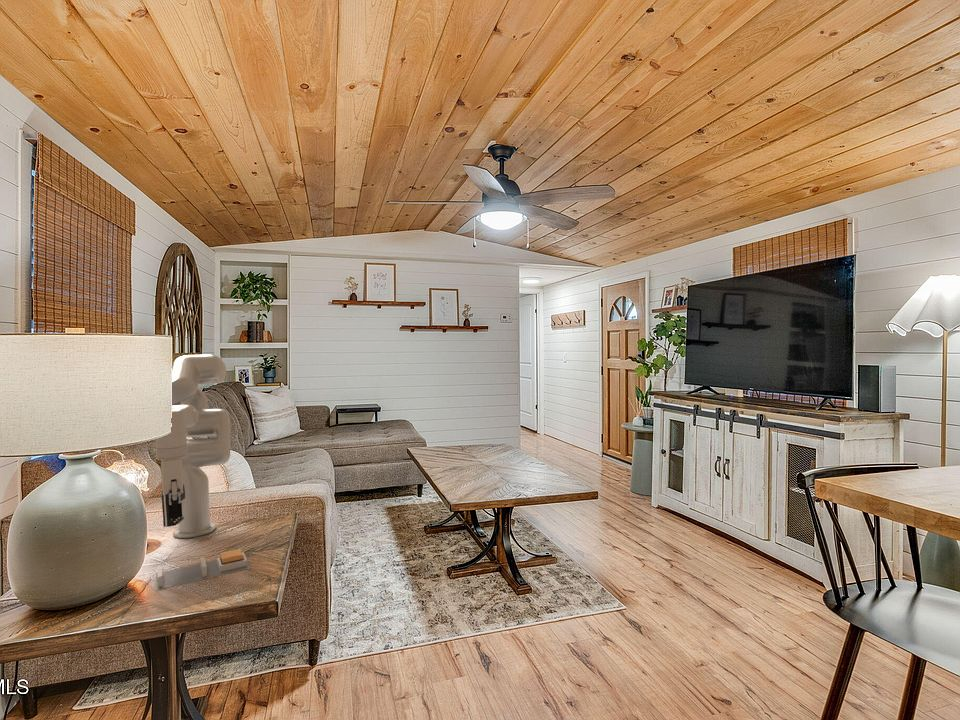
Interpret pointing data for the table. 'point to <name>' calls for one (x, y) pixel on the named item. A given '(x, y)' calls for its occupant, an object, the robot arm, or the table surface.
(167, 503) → the battery charger
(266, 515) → the table surface
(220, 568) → the charging dock
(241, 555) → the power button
